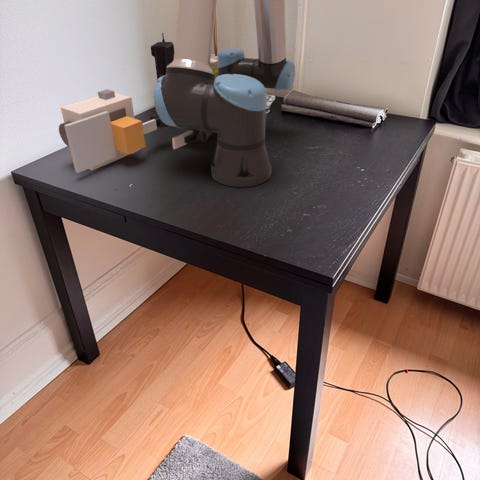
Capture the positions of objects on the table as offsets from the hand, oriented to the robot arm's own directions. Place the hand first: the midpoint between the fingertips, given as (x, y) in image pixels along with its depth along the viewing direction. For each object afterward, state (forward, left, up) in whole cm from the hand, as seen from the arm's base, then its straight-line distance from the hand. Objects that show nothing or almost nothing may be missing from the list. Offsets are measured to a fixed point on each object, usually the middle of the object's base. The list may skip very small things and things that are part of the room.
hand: (154, 137), depth 116 cm
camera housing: (+15, +6, -7) cm, 17 cm away
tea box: (+27, -49, -8) cm, 56 cm away
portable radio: (+23, -27, -8) cm, 36 cm away
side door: (+7, +9, -5) cm, 13 cm away
